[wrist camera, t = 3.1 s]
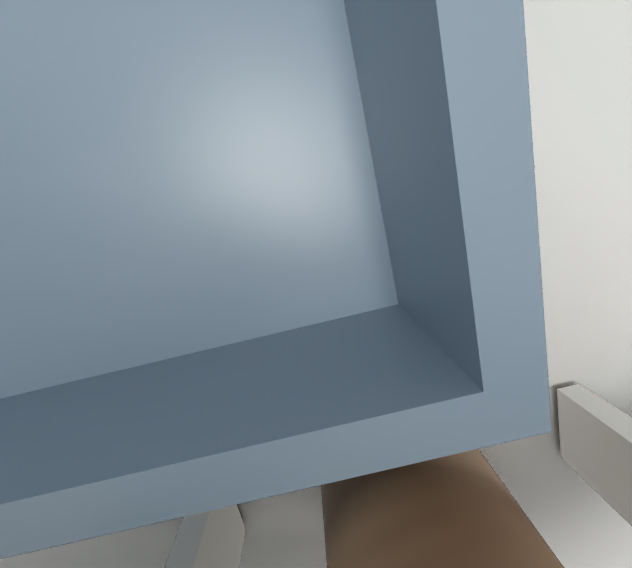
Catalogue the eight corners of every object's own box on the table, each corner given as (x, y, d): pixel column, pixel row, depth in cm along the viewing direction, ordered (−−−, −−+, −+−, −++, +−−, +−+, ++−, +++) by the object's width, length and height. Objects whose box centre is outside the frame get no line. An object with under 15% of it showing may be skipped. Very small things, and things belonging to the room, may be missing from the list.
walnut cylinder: (336, 528, 12) (384, 961, 5) (303, 410, 11) (309, 770, 4) (472, 497, 12) (703, 893, 5) (454, 374, 11) (727, 678, 4)
